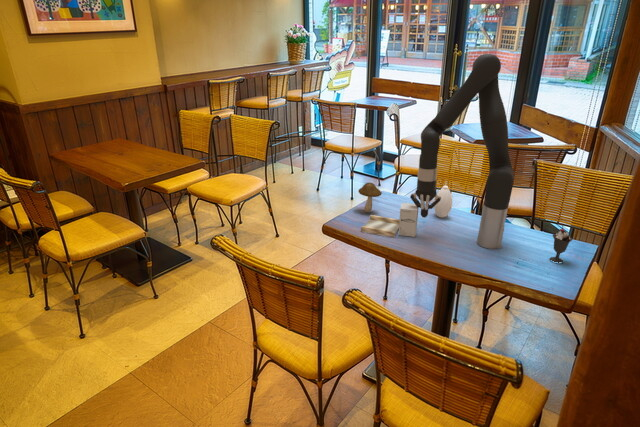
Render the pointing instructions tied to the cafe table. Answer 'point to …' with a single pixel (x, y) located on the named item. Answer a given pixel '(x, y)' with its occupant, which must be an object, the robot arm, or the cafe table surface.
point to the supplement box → (408, 219)
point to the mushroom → (369, 194)
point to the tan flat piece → (381, 226)
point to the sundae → (560, 244)
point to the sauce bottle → (444, 202)
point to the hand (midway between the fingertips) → (424, 216)
